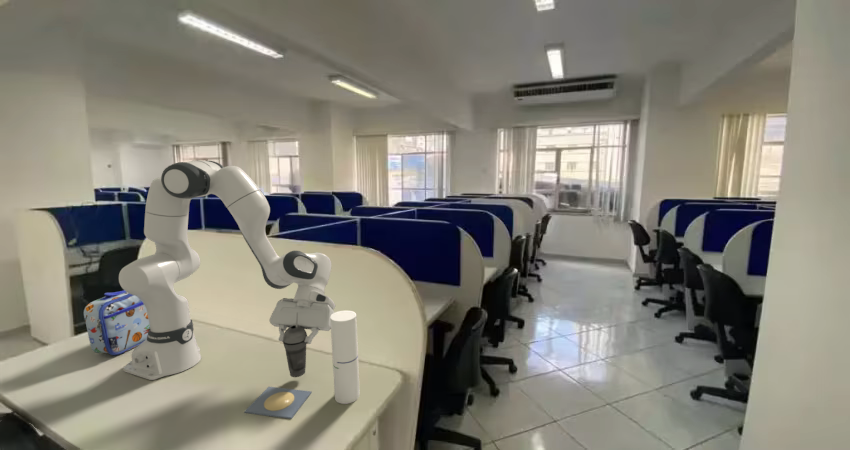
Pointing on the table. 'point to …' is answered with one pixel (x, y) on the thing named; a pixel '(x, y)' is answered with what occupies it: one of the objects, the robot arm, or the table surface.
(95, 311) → the lunch box
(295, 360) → the beverage cup
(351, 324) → the cylindrical container
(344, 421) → the table surface
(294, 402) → the card
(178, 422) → the table surface
